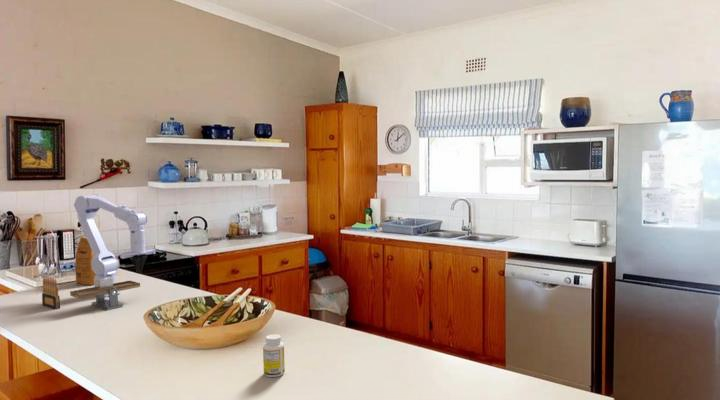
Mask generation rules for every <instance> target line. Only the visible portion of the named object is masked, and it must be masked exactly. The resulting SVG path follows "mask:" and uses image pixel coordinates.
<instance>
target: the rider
mask: <svg viewBox="0 0 720 400" xmlns="http://www.w3.org/2000/svg"><path fill="white" fill-rule="evenodd" d="M108 288H113V278H109V277H104V278H99V279H95V289H96V290H103V289H108Z"/></svg>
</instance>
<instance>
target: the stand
mask: <svg viewBox="0 0 720 400" xmlns="http://www.w3.org/2000/svg"><path fill="white" fill-rule="evenodd" d="M118 292H119V291H118V290H117V289H111V290H109V296H108V299H106V297H104V294H102V295H96V296H95V301H93V302H91V306H94V307H96V306H97V308H99V307H100V308H101V309H102V308H103V310H106V311H111V310H114V309H119V307H120V308H122V307H123V305H124V304H122V303H120V302H119V294H118ZM100 308H99V309H100Z"/></svg>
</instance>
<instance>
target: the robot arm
mask: <svg viewBox="0 0 720 400" xmlns="http://www.w3.org/2000/svg"><path fill="white" fill-rule="evenodd" d="M73 206H74V209H75V211H76V213H77V219H78V222H79V224H80V227H81V229H82V230H83V233H84V235H85V238H86V239H87V240H88V243H89V245H90V247H91V249H92V252H93V254H94V257H93V259H92V260H91V262H92V266H93V271H94V273H95V274H96V276H95V278H94V285H93V287H95V279H99V278H104V277H109V278H113V284H114V283H117V279H116V278H117V275H116V274H117V271H118V270H119V268H120V261H119V260H118V258H116V257H115V255H114V253H113V252H111V251H109V250H108V249H107V246H106V244H105V242H104V239H103V237H102V236H101V235H102V234H101V233H100V230H99V229H98V226H97V224H96V222H95V219H94V218H95V215H96V214H97V213H98V212H99V210H100V209H102V210H104V211H107V212H108V213H109V212H110V213H112V214H113V215H114V217H115V218H116V219H118V220H120V221H123V222H125V223H126V225H127V226H128V230H129V236H130V237H129V238H130V239H129V240H130V242H129V243H130V251H128V252H123V253H120V254H119V255H120V256H119V257H120V259H122V260H123V259H128V258H129V259H130V260H131V263H132V264H133V267H134V269H135V272H136V274H142V273H143V269H144V265H145V262H146V260H147V258H148V255H156V249H155V248H149V249H146V230H145V225H146V224H147V223H148V217H147V214H146V213H145V212H143V211H138V212H137V210H135V209H131V208H130V207H128V206H127V205H126V204H123V205H117V204H115V203H113V202H112V201H110V200H108V199H106V198H104V197H103V196H102V195H99V194H92V195H79V196H77V197H76V198H75V201H74V204H73ZM120 294H121V291H118V295H120ZM104 297H105V298H106V297H109V294H104Z"/></svg>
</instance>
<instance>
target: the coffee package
mask: <svg viewBox="0 0 720 400" xmlns="http://www.w3.org/2000/svg"><path fill="white" fill-rule="evenodd" d="M93 257H94V254H93V252H92V249H91V247H90V245H89V243H88V240H87V238H86V237H84V236H80V238H79V242H78V245H77V249H76V252H75V261H74V263H75V264H74V273H75V284H76V285H83V286H94V278H95V276H96V274H95V273H94V271H93V266H92V262H91V260H92V259H93Z"/></svg>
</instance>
